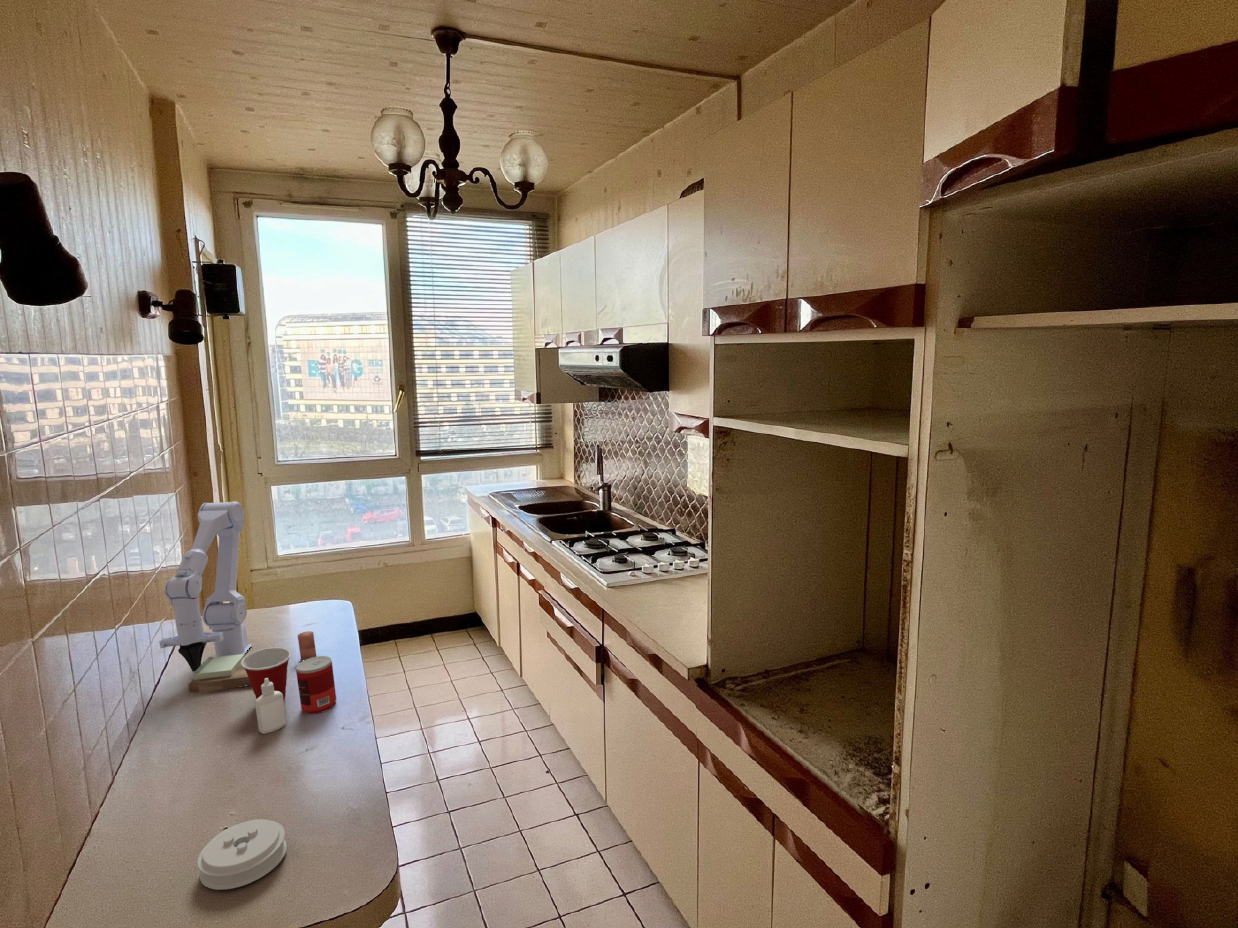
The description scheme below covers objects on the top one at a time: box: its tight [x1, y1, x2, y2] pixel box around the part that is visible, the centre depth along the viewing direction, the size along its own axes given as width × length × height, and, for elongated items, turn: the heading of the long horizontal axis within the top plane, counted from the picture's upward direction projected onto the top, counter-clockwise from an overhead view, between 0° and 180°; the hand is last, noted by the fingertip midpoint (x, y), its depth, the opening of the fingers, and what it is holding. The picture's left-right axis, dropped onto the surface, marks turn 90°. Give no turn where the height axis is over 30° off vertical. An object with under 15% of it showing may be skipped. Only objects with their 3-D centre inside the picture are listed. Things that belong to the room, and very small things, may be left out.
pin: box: [297, 631, 317, 661], centre depth 192 cm, size 4×4×7 cm
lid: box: [197, 819, 288, 891], centre depth 113 cm, size 13×13×5 cm
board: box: [188, 655, 251, 694], centre depth 183 cm, size 14×18×2 cm
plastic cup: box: [241, 646, 292, 700], centre depth 167 cm, size 11×11×12 cm
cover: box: [192, 654, 246, 680], centre depth 182 cm, size 10×9×2 cm
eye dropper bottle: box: [254, 678, 288, 735], centre depth 155 cm, size 4×6×12 cm
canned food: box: [295, 655, 337, 715], centre depth 164 cm, size 8×8×11 cm
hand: (196, 669), depth 181 cm, fingers closed
